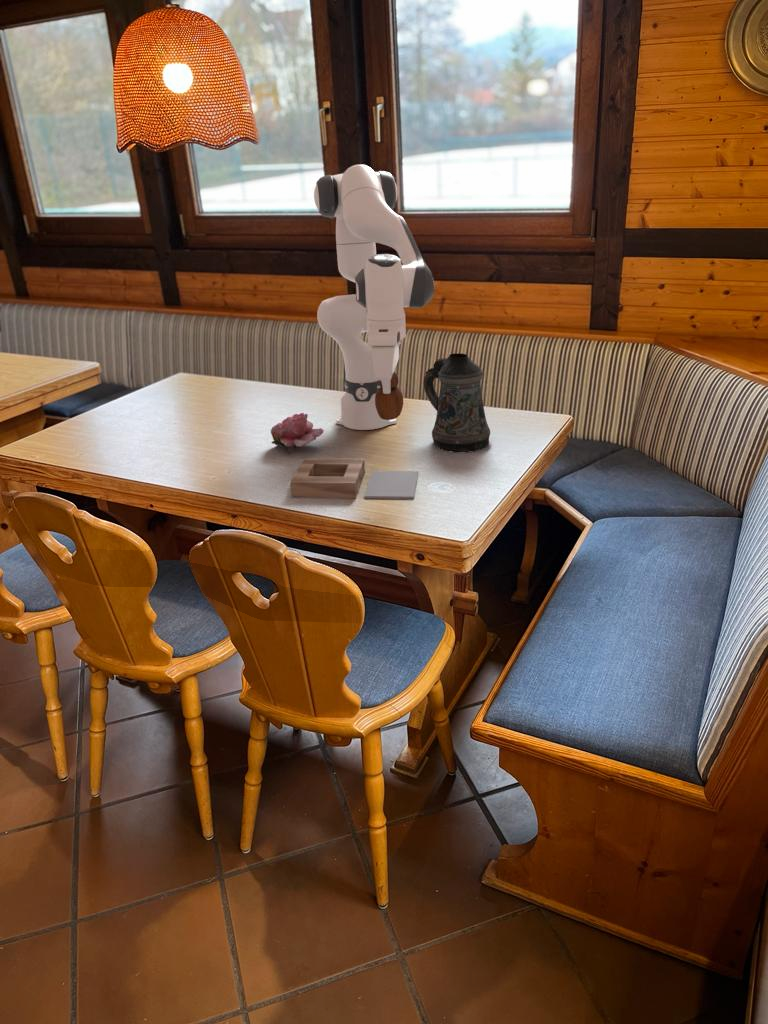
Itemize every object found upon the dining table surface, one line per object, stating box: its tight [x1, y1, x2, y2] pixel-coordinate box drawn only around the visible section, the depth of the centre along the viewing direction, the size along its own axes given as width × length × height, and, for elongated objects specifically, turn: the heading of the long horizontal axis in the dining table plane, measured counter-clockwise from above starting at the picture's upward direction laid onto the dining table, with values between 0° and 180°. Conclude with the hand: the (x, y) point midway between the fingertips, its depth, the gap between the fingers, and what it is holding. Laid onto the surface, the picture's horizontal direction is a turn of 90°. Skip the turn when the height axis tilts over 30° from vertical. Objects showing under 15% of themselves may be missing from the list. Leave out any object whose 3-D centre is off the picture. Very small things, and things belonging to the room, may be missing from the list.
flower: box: [270, 412, 325, 454], centre depth 214 cm, size 15×15×10 cm
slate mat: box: [363, 470, 420, 500], centre depth 189 cm, size 16×12×1 cm
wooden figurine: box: [375, 371, 404, 420], centre depth 178 cm, size 7×6×15 cm
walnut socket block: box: [289, 457, 366, 499], centre depth 190 cm, size 16×16×4 cm
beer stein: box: [423, 352, 491, 453], centre depth 210 cm, size 16×19×25 cm
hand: (388, 388), depth 178 cm, fingers closed on wooden figurine, 5 cm apart
